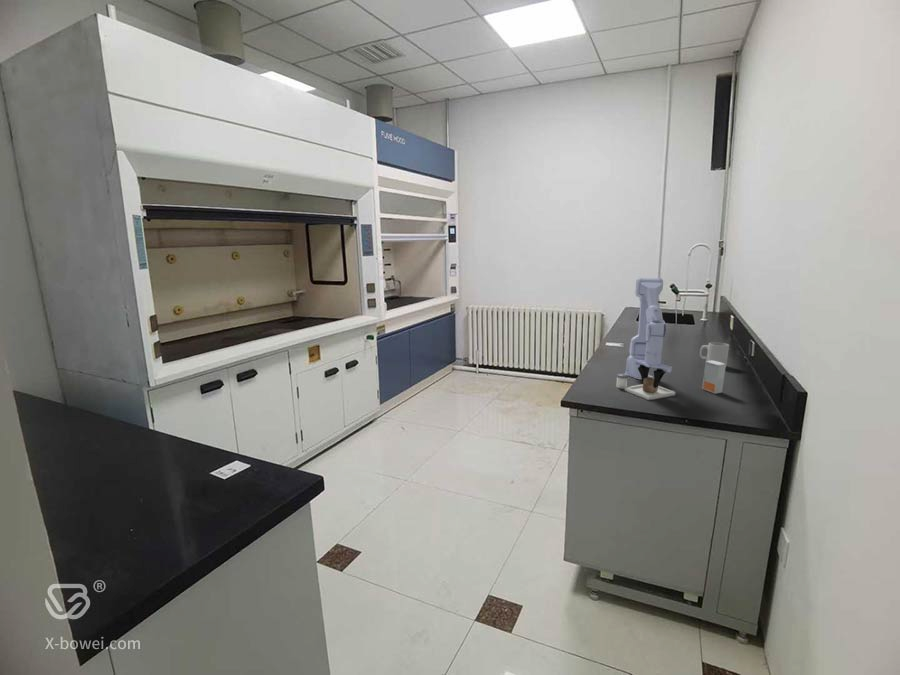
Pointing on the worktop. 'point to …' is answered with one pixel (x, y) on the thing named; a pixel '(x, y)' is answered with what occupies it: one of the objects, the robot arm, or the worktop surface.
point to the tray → (647, 395)
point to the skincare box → (713, 376)
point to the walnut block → (649, 385)
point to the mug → (716, 352)
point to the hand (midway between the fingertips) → (650, 385)
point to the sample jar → (621, 381)
